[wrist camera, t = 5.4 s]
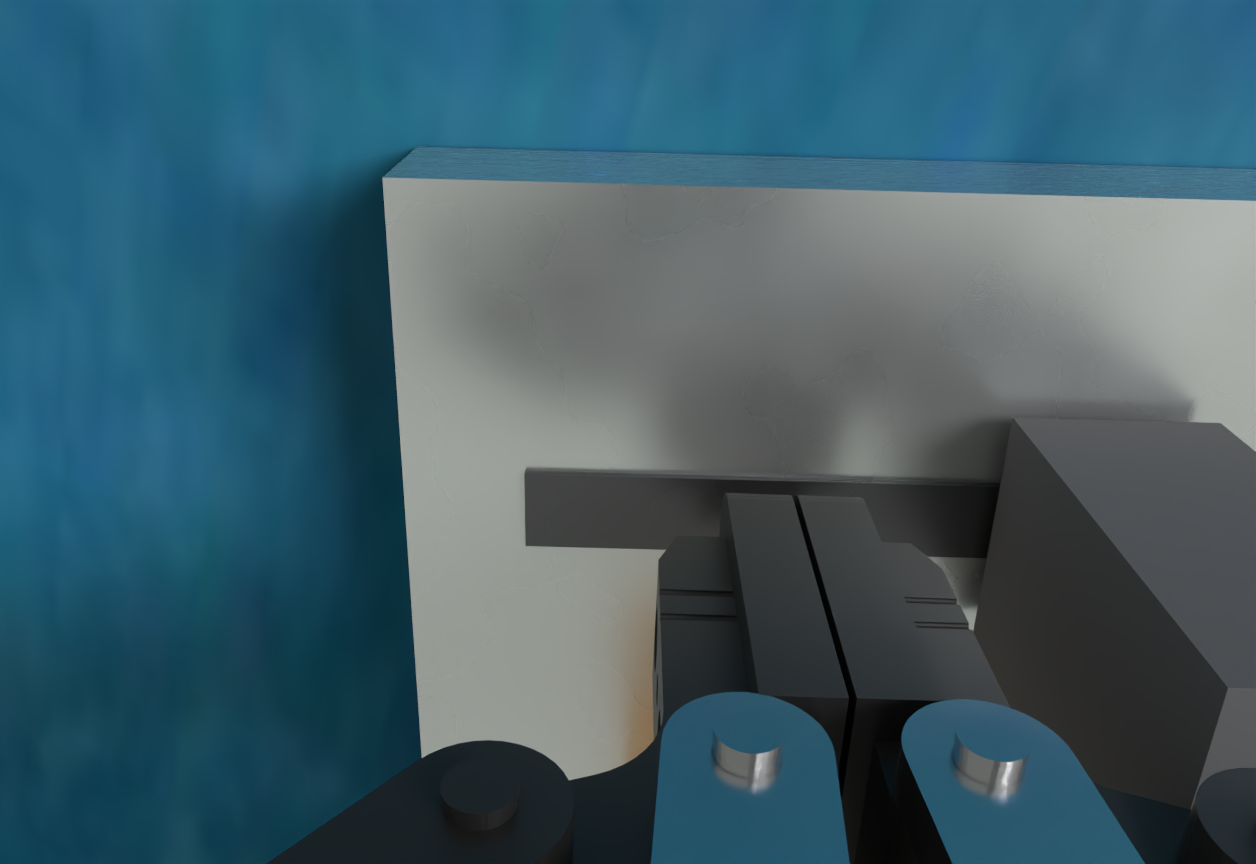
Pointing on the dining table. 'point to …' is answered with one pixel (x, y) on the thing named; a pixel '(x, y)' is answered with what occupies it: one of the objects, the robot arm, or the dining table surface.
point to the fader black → (1128, 597)
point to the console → (754, 379)
